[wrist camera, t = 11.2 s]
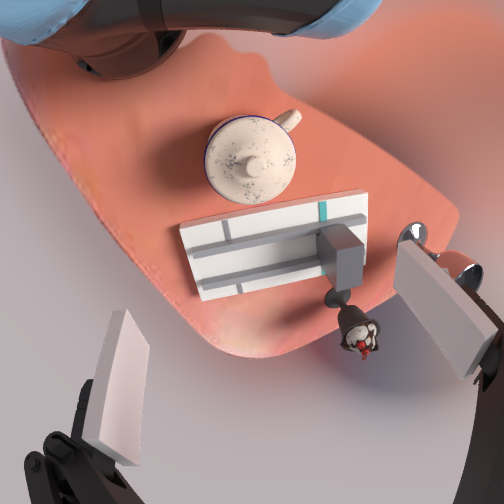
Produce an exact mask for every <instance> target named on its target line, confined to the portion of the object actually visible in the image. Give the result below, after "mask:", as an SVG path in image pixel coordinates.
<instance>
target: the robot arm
mask: <svg viewBox="0 0 504 504" xmlns="http://www.w3.org/2000/svg"><path fill="white" fill-rule="evenodd" d="M382 1H383V0H0V37H2V38H5V39H8V40H10V41H13V42H14V43H16V44H19V45H25V46H27V45H34V46H39V47H44V48H49V49H53V50H58V51H62V52H66V53H70V54H71V56H72V58H73V59H74V61H75V62H76V63H77V64H78V66H79V67H81V68H82V69H83V70H85V71H86V72H88V73H90V74H92V75H95V76H98V77H102V78H107V79H126V78H132V77H135V76H139V75H141V74H144V73H146V72H148V71H150V70H152V69H154V68H155V67H157V66H159V65H160V64H161V63H163V62H164V61H165V60H166V59H167V58H169V57H170V56H171V55H172V54H173V52H174V51H175V50H176V49H177V48H178V46H179V45H180V43H181V42H182V40H183V38H184V36H185V34H186V31H187V30H189V29H190V30H191V29H192V30H194V29H221V30H223V29H225V30H244V31H257V32H267V33H271V34H272V35H274V36H279V37H289V36H300V37H308V38H314V39H330V38H337V37H341V36H344V35H346V34H348V33H350V32H351V31H353V30H355V29H356V28H358V27H359V26H360V25H362V24H363V23H364V22H365V21H366V20H367V19H368V18H369V17H370V16H371V15H372V14H373V13H374V12H375V10H376V9H377V8H378V7H379V5H380V4H381V2H382ZM393 287H394V289H395V290H396V291H397V292H398V294H399V295H400V296H401V297H402V299H403V300H404V301H405V303H406V304H407V305H408V307H409V308H410V309H411V310H412V312H413V313H414V314H415V315H416V317H417V318H418V320H419V321H420V322H421V324H422V325H423V326H424V328H425V329H426V331H427V332H428V333H429V335H430V336H431V337H432V339H433V340H434V342H435V343H436V344H437V346H438V347H439V349H440V350H441V352H442V353H443V354H444V356H445V357H446V359H447V360H448V362H449V363H450V365H451V366H452V368H453V369H454V371H455V372H456V374H457V375H458V377H459V378H460V380H461V381H462V380H463V379H465V378H466V377H468V376H470V375H471V374H473V373H474V371H475V370H476V368H477V366H478V365H480V367H481V368H482V369H481V371H480V373H479V374H478V376H477V377H476V379H475V380H474V383H473V384H474V385H475V384H476V383H477V381H478V380H479V384H478V385H479V388H478V398H477V406H476V414H475V419H474V426H473V431H472V436H471V441H470V446H469V450H468V454H467V459H466V463H465V466H464V470H463V474H462V477H461V480H460V484H459V487H458V490H457V493H456V496H455V499H454V502H453V504H504V323H503V322H502V320H501V319H500V318H499V317H498V316H497V315H496V314H495V312H493V310H492V309H491V308H490V307H489V306H488V305H486V303H485V302H484V300H483V299H481V298H480V296H479V295H478V294H477V293H476V292H475V291H474V290H473V289H471V288H469V287H467V286H466V285H462V286H459V285H458V284H457V283H456V282H455V281H454V280H453V279H452V278H451V277H450V276H449V275H448V274H447V273H446V272H445V271H444V270H443V269H442V268H441V267H440V266H439V265H437V264H436V263H435V262H434V261H433V260H432V259H431V258H430V257H429V256H428V255H427V254H426V253H425V252H424V251H423V250H421V249H420V248H419V247H418V246H417V245H416V244H415V243H414V242H413V241H412V240H407V241H403V242H399V243H398V250H397V260H396V268H395V277H394V284H393ZM149 351H150V346H149V345H148V343H147V342H146V340H145V338H144V337H143V335H142V334H141V332H140V330H139V328H138V327H137V325H136V323H135V322H134V320H133V318H132V317H131V315H130V313H129V311H128V310H127V309H122V310H117V311H113V313H112V317H111V320H110V323H109V326H108V329H107V333H106V336H105V339H104V343H103V347H102V350H101V354H100V357H99V361H98V364H97V368H96V372H95V376H94V379H89V380H87V381H86V382H85V384H84V386H83V387H82V389H81V392H80V396H79V402H78V404H77V410H76V413H75V418H74V422H73V428H72V432H71V438H69V437H68V436H67V435H65V434H64V433H61V432H60V431H55V432H53V433H50V434H49V435H48V436H47V437H46V439H45V441H44V444H43V451H44V455H46V456H44V455H42V454H41V453H39V452H37V451H32V452H30V453H29V454H28V455H27V456H26V458H25V461H24V470H25V476H26V481H27V486H28V491H29V496H30V500H31V504H145V503H144V502H143V501H142V500H141V499H140V497H139V496H138V495H137V494H136V493H135V492H134V490H133V489H132V488H131V486H130V485H129V484H128V482H127V481H126V480H125V479H124V477H123V476H122V474H121V473H120V472H119V470H117V469H116V468H115V461H116V462H118V463H119V464H121V465H123V466H139V459H140V440H141V425H142V413H143V401H144V391H145V382H146V374H147V366H148V358H149ZM59 493H60V494H59Z"/></svg>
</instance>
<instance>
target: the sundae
mask: <svg viewBox="0 0 504 504" xmlns="http://www.w3.org/2000/svg"><path fill="white" fill-rule="evenodd" d="M350 296H351V291H350V289H346V290H342V291H338V292H336V290H335V289H334V288H333V289H331V290H330V291H329V292H328V294H327V295H326V298H325V304H326V305H327V306H328V307H330V308H338V307H340V308H341V310H340V312H339V314H338V323H339V327H340V330H341V333H342V342H341V344H340V345H341V346H342V348H343V349H344V350H348V351H356V352H357V353H359V354H362V355H364V356H366V357H367V355H368V353H369V352H373V351H376V350H378V349H379V347H378V343H377V340H376V337H377V336H378V335H379V333H380V324H379V323H378V321H376V320H375V319H369V318H368V317H367V316H366V315H365V314H364V312H363V311H362V310H361V309H359V308H358V307H357V306H355V305H348V306H347V305H346V303H347V302H348V300H349V299H350ZM364 356H363V358H362V359H363V360H366V359H365V358H366V357H365V358H364Z"/></svg>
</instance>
